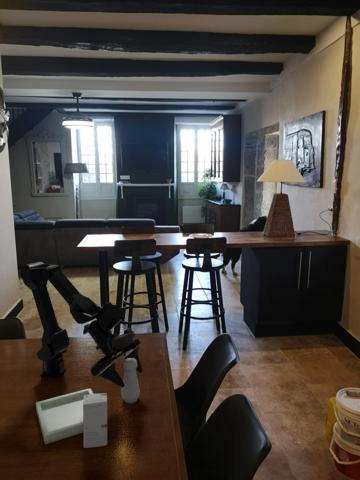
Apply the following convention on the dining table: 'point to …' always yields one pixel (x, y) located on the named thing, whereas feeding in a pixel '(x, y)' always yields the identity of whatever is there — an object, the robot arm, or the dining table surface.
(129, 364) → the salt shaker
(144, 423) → the dining table surface
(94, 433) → the skincare box
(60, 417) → the tray
